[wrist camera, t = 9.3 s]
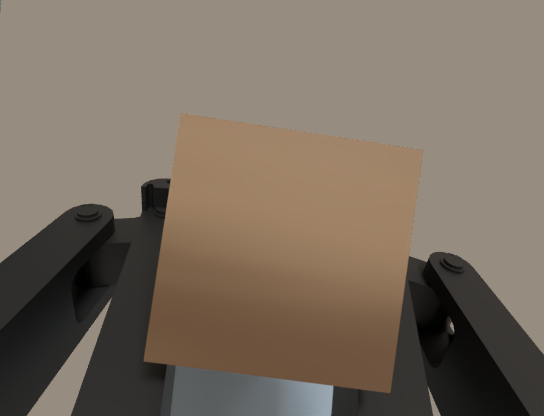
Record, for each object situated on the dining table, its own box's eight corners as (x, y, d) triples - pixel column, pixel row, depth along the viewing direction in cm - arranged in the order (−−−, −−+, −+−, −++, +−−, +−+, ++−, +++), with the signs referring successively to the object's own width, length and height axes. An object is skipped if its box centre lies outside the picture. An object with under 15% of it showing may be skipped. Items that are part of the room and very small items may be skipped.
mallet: (609, 421, 5) (651, 82, 5) (-96, 330, 5) (-37, -29, 5) (324, 252, 28) (332, 189, 28) (197, 234, 28) (206, 171, 28)
